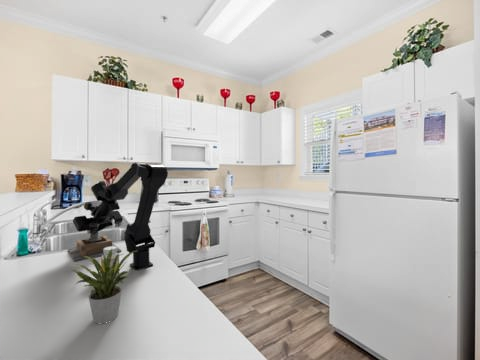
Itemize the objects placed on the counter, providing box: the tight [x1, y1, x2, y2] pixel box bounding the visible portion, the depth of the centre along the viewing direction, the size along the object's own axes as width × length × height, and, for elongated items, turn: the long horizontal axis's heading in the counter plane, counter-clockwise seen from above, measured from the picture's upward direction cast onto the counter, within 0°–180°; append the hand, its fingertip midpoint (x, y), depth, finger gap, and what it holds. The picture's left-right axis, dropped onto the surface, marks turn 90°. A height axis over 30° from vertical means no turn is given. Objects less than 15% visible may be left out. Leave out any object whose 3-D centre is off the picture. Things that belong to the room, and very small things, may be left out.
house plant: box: [72, 249, 138, 324], centre depth 60 cm, size 14×14×16 cm
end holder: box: [67, 235, 122, 263], centre depth 107 cm, size 18×17×5 cm
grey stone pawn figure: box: [86, 224, 102, 244], centre depth 107 cm, size 6×6×12 cm
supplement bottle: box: [100, 245, 120, 278], centre depth 82 cm, size 5×5×10 cm
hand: (92, 232), depth 108 cm, fingers closed on grey stone pawn figure, 3 cm apart
